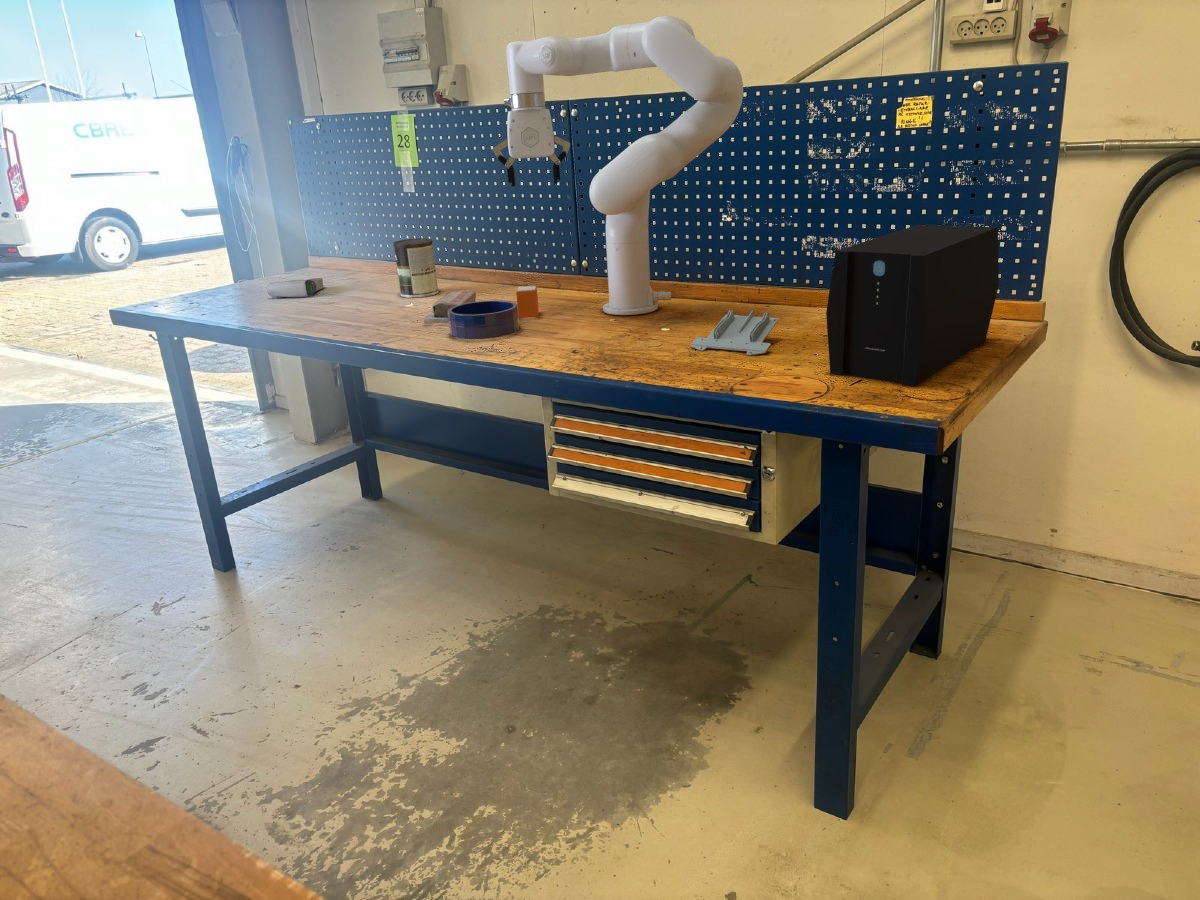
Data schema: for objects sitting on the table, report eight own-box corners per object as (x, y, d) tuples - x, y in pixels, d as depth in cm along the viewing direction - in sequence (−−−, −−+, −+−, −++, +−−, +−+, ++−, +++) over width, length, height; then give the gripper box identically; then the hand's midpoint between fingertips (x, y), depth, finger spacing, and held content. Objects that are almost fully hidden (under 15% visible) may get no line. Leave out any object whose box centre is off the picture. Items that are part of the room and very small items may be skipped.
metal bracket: (717, 303, 168) (790, 308, 160) (720, 329, 171) (792, 335, 164) (686, 340, 159) (762, 346, 151) (690, 366, 162) (765, 374, 155)
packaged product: (442, 289, 207) (482, 287, 206) (445, 308, 209) (484, 307, 208) (420, 304, 191) (464, 303, 189) (423, 325, 192) (466, 324, 191)
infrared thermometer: (327, 290, 249) (310, 297, 235) (287, 292, 249) (267, 299, 235) (325, 274, 248) (307, 280, 233) (284, 276, 248) (264, 282, 234)
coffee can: (394, 298, 226) (387, 244, 221) (408, 290, 235) (400, 238, 230) (432, 297, 224) (425, 243, 219) (444, 289, 234) (437, 237, 229)
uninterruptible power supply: (823, 372, 141) (828, 250, 134) (907, 329, 164) (914, 223, 157) (921, 387, 131) (932, 256, 124) (995, 339, 154) (1008, 226, 147)
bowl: (521, 323, 189) (519, 298, 187) (516, 339, 176) (514, 312, 174) (456, 327, 189) (452, 302, 187) (446, 343, 176) (443, 317, 174)
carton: (539, 314, 197) (536, 285, 194) (538, 319, 192) (535, 289, 190) (520, 315, 197) (517, 286, 194) (518, 320, 192) (515, 290, 190)
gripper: (486, 105, 183) (495, 188, 189) (567, 100, 183) (572, 183, 189) (490, 105, 190) (498, 185, 196) (567, 101, 190) (572, 181, 196)
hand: (534, 184), depth 193 cm, fingers open, 9 cm apart
